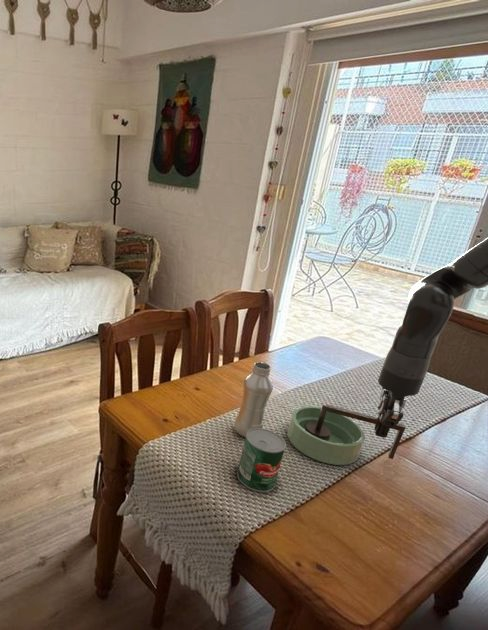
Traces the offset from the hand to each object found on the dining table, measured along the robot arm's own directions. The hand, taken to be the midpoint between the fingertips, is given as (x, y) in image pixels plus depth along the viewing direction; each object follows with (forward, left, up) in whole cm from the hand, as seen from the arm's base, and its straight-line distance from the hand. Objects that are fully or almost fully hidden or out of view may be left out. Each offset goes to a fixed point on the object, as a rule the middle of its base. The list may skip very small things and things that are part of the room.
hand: (379, 433), depth 103 cm
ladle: (+5, 0, -6) cm, 8 cm away
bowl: (+11, +1, -7) cm, 13 cm away
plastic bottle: (+28, +6, -7) cm, 29 cm away
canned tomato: (+24, +22, -7) cm, 33 cm away
